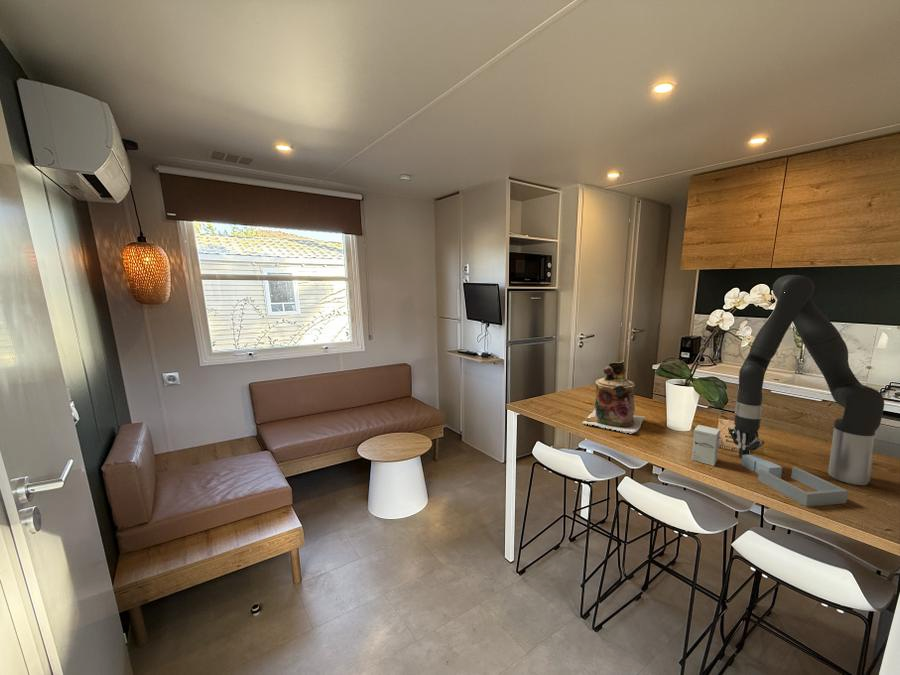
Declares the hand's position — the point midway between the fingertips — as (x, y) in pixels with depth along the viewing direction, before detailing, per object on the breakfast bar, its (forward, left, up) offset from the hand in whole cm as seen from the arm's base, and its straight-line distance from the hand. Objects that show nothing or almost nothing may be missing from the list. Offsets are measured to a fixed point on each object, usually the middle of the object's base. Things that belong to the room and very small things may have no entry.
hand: (743, 458), depth 136 cm
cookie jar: (+26, -45, -2) cm, 52 cm away
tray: (0, +20, -2) cm, 20 cm away
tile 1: (0, +5, -2) cm, 5 cm away
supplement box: (+13, -3, -2) cm, 14 cm away
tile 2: (0, +10, -2) cm, 10 cm away
